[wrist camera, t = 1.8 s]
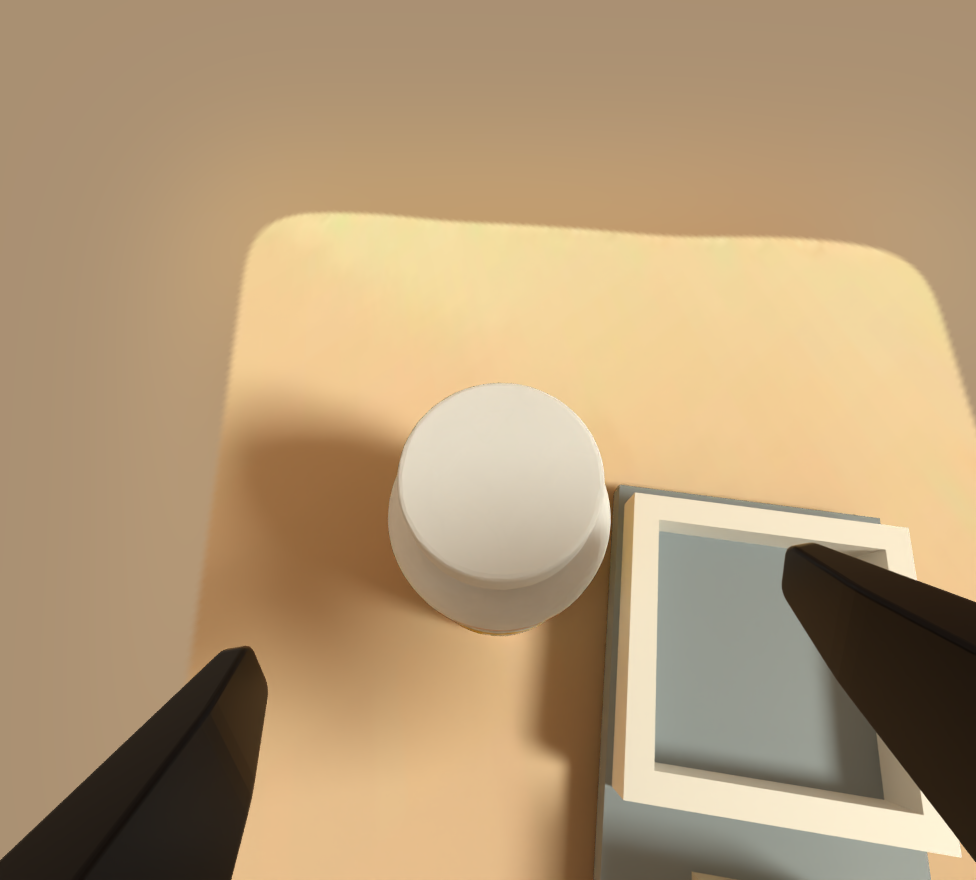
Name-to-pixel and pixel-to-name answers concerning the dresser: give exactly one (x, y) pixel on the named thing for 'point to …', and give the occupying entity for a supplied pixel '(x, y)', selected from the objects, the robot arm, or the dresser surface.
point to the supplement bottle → (499, 508)
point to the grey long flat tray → (741, 707)
